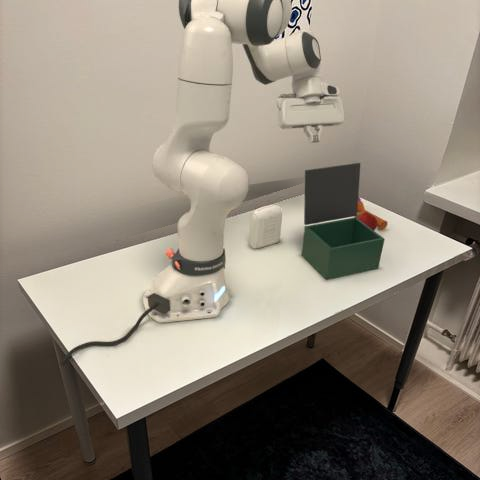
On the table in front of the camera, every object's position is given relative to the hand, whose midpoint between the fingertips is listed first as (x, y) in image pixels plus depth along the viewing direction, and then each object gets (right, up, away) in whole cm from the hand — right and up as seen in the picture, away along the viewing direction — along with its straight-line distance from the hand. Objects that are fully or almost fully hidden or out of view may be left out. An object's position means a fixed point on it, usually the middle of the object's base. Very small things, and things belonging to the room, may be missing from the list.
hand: (314, 142), depth 147 cm
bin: (+8, -35, +3) cm, 36 cm away
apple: (+18, -25, +17) cm, 35 cm away
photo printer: (-14, -28, +11) cm, 33 cm away
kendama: (+21, -17, +27) cm, 38 cm away
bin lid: (+5, -16, -2) cm, 17 cm away
